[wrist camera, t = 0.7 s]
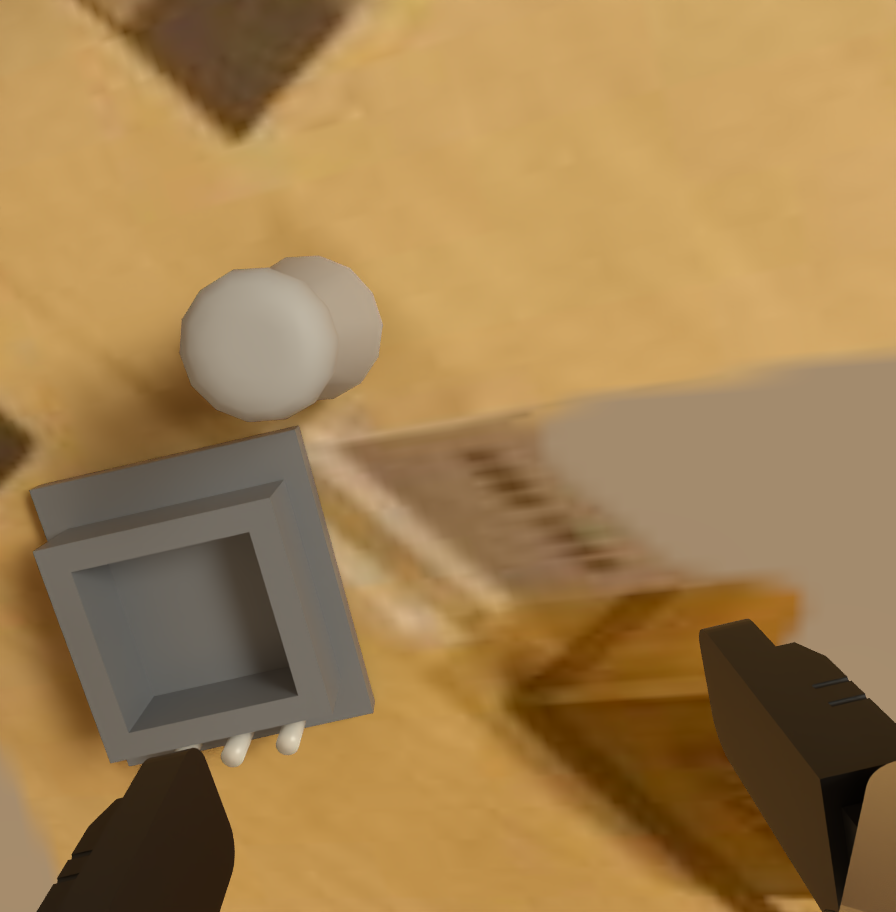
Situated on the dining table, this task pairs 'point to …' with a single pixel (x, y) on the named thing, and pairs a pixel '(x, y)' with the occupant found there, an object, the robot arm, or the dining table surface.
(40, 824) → the dining table surface
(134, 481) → the socket
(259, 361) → the salt shaker
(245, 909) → the dining table surface
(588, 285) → the dining table surface
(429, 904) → the dining table surface
